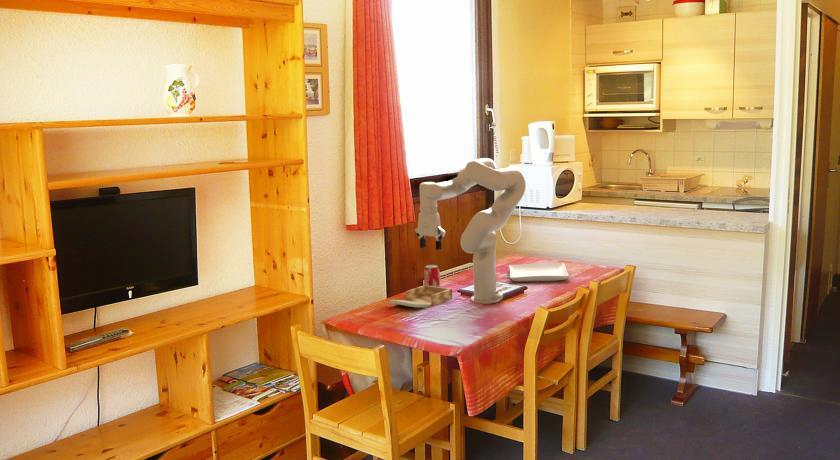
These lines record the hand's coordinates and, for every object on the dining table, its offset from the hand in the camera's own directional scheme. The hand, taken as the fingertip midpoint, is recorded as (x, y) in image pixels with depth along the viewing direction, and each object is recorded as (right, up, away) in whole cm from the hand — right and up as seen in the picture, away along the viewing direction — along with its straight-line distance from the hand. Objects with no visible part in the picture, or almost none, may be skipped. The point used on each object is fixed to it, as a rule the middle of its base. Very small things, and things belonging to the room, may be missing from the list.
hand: (430, 248), depth 344 cm
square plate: (+52, -15, +24) cm, 59 cm away
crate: (-1, -23, -13) cm, 26 cm away
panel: (-6, -23, -18) cm, 30 cm away
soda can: (+1, -20, +3) cm, 20 cm away
